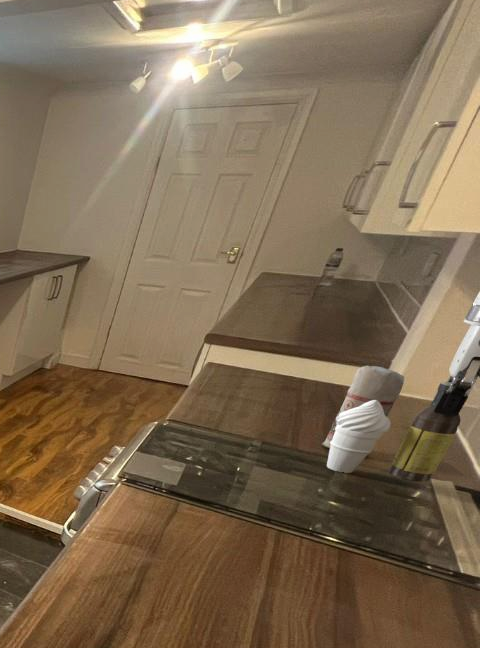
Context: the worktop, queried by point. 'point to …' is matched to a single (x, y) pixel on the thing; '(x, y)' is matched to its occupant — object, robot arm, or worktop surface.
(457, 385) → the robot arm
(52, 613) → the worktop surface
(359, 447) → the ice cream cone
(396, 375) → the spray can
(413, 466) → the sauce bottle
